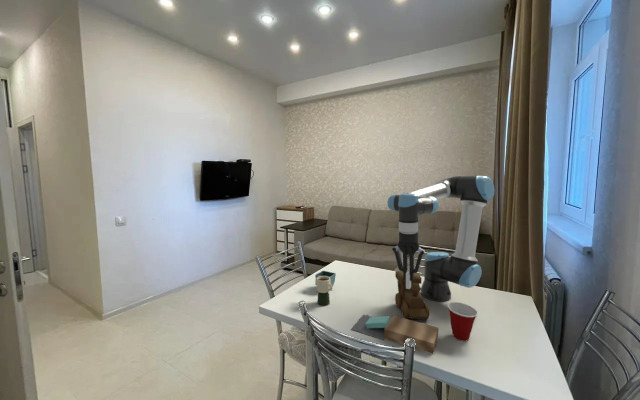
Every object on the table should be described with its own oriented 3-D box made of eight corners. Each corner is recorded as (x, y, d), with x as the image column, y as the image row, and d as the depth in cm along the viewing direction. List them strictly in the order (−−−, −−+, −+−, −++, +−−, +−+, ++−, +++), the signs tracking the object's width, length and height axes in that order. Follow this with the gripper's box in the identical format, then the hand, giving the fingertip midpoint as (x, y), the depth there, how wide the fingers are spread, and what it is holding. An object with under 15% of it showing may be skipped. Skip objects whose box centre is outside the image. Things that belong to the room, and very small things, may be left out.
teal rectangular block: (391, 320, 113) (389, 316, 114) (386, 327, 108) (385, 322, 109) (371, 321, 118) (370, 317, 118) (366, 328, 113) (365, 323, 113)
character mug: (336, 304, 135) (336, 278, 134) (327, 309, 130) (327, 283, 129) (320, 297, 143) (320, 273, 142) (310, 302, 137) (310, 277, 136)
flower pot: (336, 288, 155) (336, 273, 154) (328, 293, 147) (328, 278, 146) (323, 285, 159) (323, 270, 159) (314, 290, 152) (314, 274, 151)
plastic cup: (475, 348, 100) (476, 317, 99) (443, 339, 106) (444, 309, 105) (478, 334, 109) (479, 306, 108) (448, 326, 115) (449, 299, 114)
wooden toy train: (393, 302, 137) (393, 270, 136) (415, 302, 137) (416, 270, 136) (405, 323, 117) (406, 286, 116) (431, 323, 117) (432, 286, 116)
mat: (393, 323, 117) (393, 322, 117) (383, 340, 105) (383, 339, 105) (363, 315, 125) (363, 314, 125) (350, 329, 113) (350, 329, 113)
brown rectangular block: (438, 337, 107) (438, 327, 107) (433, 354, 97) (433, 343, 97) (393, 324, 116) (393, 315, 116) (384, 338, 106) (384, 329, 106)
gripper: (427, 231, 109) (426, 287, 112) (394, 228, 116) (395, 281, 118) (423, 235, 103) (423, 294, 105) (389, 232, 110) (390, 288, 112)
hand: (408, 287), depth 112 cm, fingers closed
